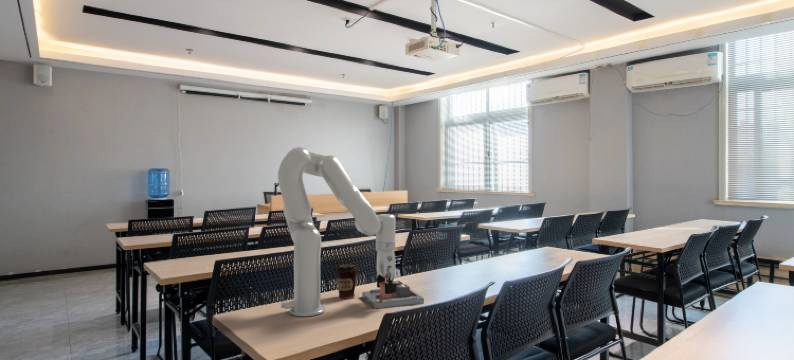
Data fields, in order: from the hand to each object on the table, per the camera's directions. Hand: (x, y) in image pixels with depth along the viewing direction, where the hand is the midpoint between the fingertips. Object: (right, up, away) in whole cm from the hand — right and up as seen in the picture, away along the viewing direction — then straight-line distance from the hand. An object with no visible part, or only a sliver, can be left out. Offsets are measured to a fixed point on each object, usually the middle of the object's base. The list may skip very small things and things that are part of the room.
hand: (384, 290), depth 173 cm
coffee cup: (-16, -5, +9) cm, 19 cm away
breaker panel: (+3, -5, +5) cm, 8 cm away
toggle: (+7, -3, +2) cm, 8 cm away
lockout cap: (+1, -3, 0) cm, 3 cm away
